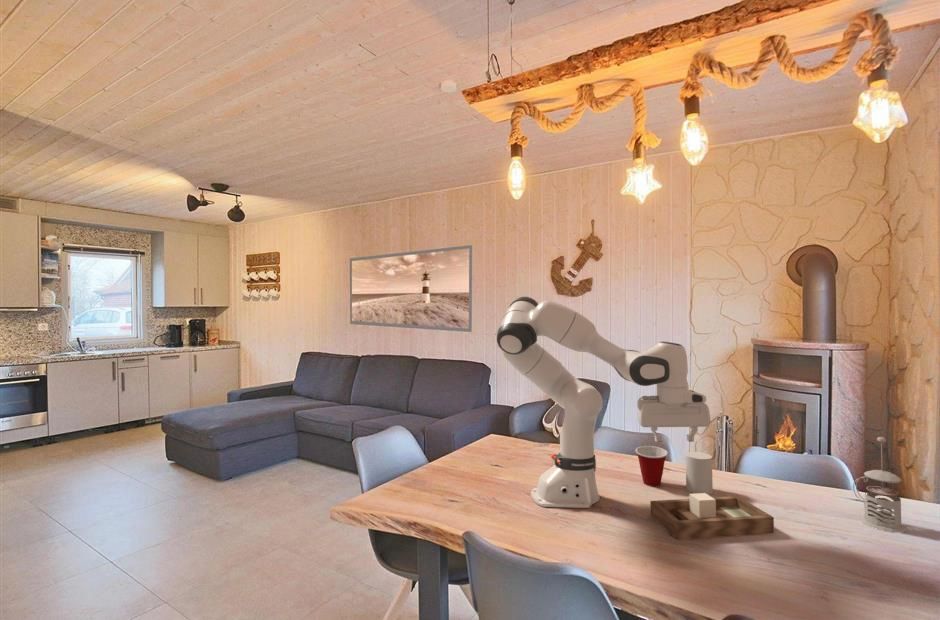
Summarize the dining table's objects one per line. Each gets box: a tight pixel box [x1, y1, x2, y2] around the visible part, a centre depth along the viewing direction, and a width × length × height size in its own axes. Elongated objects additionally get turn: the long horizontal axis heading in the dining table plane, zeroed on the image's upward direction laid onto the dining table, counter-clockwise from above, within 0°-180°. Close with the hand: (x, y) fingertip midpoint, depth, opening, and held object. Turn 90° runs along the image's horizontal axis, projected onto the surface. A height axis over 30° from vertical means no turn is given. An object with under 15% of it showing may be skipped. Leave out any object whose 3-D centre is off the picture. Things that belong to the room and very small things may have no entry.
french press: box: [852, 436, 907, 533], centre depth 134 cm, size 10×12×25 cm
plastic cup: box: [635, 445, 669, 487], centre depth 167 cm, size 11×11×12 cm
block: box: [689, 493, 716, 518], centre depth 137 cm, size 5×5×5 cm
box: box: [649, 495, 775, 541], centre depth 135 cm, size 28×15×4 cm, turn 95°
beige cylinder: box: [685, 451, 714, 495], centre depth 160 cm, size 8×8×12 cm
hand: (674, 441), depth 140 cm, fingers open, 8 cm apart
